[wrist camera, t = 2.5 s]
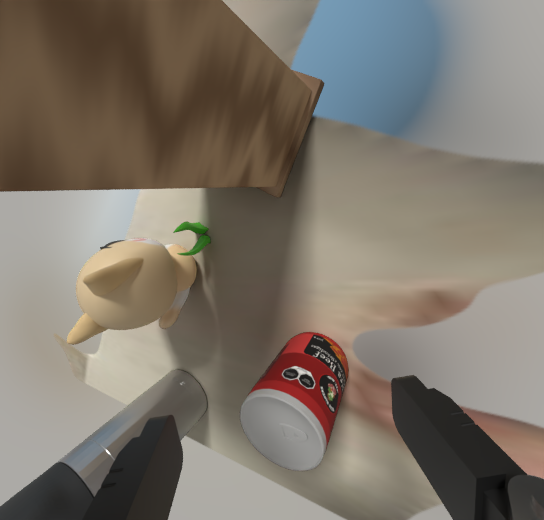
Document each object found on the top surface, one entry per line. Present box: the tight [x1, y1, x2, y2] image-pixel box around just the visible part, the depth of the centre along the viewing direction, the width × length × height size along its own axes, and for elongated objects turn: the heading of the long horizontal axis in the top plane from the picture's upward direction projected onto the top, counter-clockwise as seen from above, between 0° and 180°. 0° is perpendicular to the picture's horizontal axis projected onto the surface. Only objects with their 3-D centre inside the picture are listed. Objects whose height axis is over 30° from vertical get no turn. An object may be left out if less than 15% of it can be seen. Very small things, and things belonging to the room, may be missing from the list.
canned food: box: [240, 332, 348, 471], centre depth 27 cm, size 8×8×11 cm
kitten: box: [67, 222, 211, 345], centre depth 31 cm, size 15×10×15 cm
